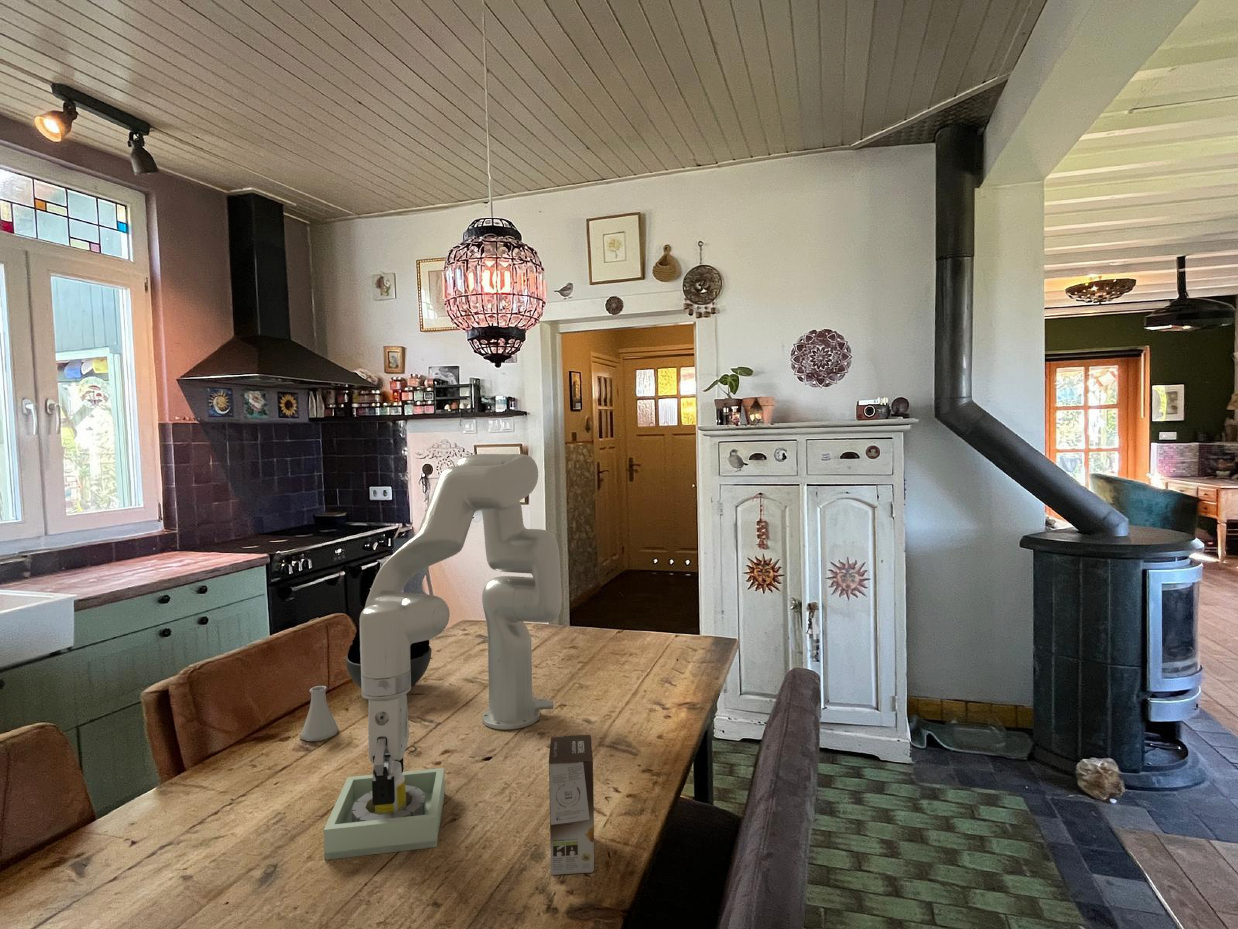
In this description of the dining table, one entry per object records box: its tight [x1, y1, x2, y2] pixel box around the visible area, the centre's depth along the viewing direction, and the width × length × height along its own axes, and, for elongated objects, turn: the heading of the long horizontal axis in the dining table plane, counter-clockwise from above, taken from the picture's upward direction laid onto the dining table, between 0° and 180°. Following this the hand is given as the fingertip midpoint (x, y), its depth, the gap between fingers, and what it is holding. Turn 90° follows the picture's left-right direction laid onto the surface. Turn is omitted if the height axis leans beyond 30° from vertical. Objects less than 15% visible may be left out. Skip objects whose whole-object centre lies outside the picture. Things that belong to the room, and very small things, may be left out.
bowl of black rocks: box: [345, 627, 432, 688], centre depth 166 cm, size 20×20×19 cm
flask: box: [299, 685, 339, 742], centre depth 142 cm, size 7×7×10 cm
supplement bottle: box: [375, 761, 407, 815], centre depth 108 cm, size 5×5×8 cm
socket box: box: [323, 767, 446, 861], centre depth 108 cm, size 16×16×4 cm
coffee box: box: [548, 734, 595, 876], centre depth 99 cm, size 9×6×16 cm
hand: (388, 787), depth 108 cm, fingers open, 9 cm apart
